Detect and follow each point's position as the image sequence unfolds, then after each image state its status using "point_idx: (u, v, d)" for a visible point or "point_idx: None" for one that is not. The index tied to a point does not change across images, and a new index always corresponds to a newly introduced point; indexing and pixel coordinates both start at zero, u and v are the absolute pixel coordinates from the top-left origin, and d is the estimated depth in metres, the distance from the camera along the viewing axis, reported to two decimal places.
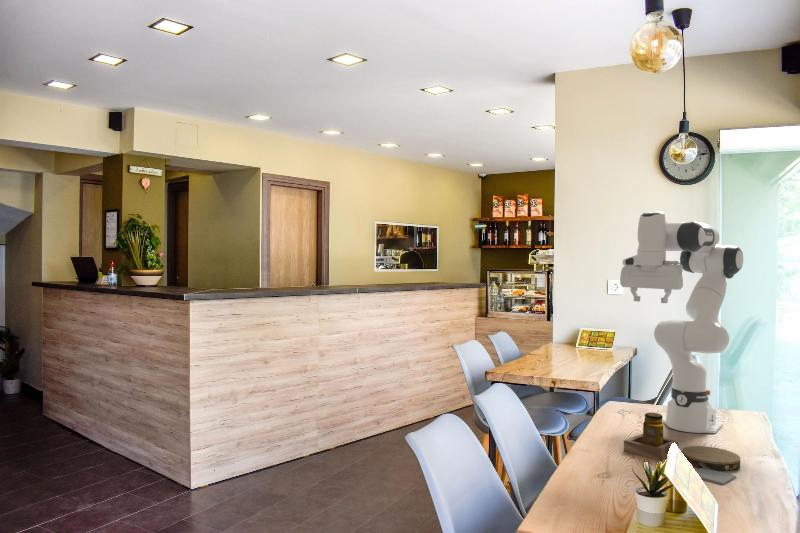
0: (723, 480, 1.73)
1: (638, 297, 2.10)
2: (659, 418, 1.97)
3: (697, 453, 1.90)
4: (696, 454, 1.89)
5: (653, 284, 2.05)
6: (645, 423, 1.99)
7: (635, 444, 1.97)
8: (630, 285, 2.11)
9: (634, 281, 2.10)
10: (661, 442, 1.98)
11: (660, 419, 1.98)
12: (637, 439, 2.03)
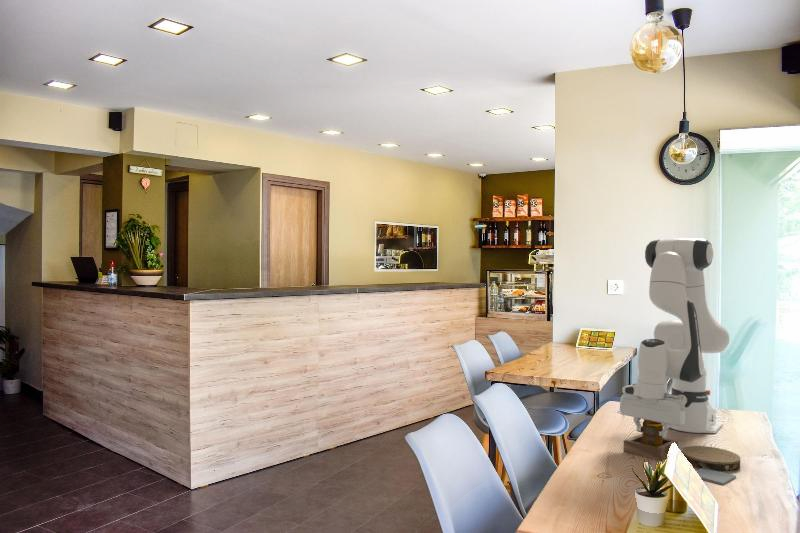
0: (723, 480, 1.73)
1: (641, 428, 2.02)
2: None
3: (697, 453, 1.90)
4: (696, 454, 1.89)
5: (654, 417, 1.97)
6: (644, 423, 1.99)
7: (635, 444, 1.97)
8: (630, 414, 2.03)
9: (634, 410, 2.02)
10: (660, 442, 1.98)
11: None
12: (637, 439, 2.03)
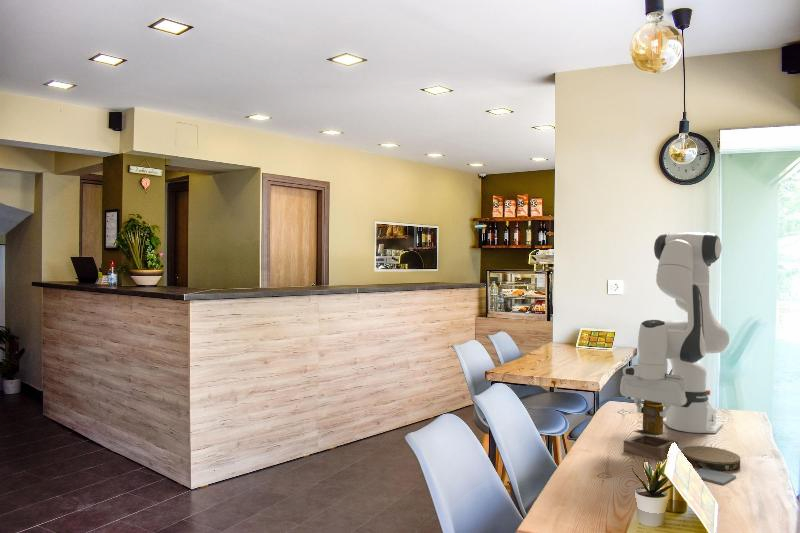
0: (723, 480, 1.73)
1: (642, 408, 2.02)
2: None
3: (697, 453, 1.90)
4: (696, 454, 1.89)
5: (654, 398, 1.97)
6: (645, 404, 2.00)
7: (635, 444, 1.97)
8: (630, 395, 2.03)
9: (635, 391, 2.02)
10: (661, 422, 1.98)
11: None
12: (637, 439, 2.03)
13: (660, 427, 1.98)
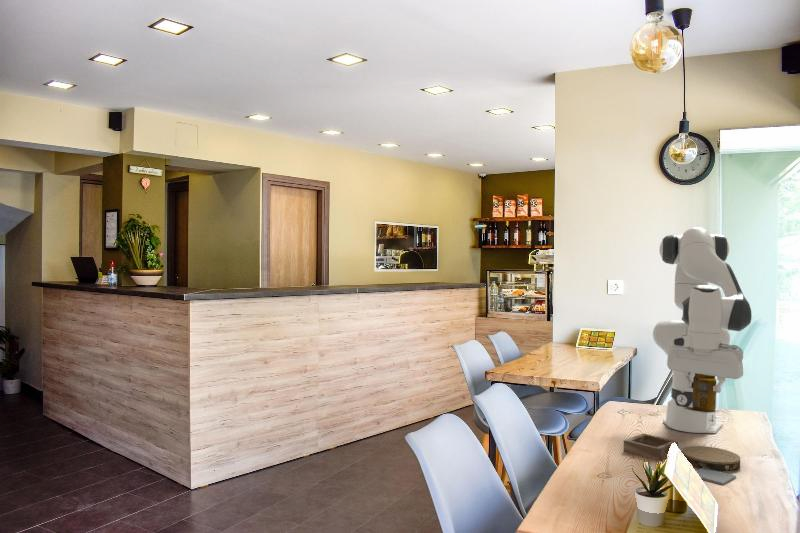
0: (723, 480, 1.73)
1: (692, 383, 1.82)
2: None
3: (697, 453, 1.90)
4: (696, 454, 1.89)
5: (707, 371, 1.77)
6: (696, 377, 1.80)
7: (635, 444, 1.97)
8: (679, 369, 1.83)
9: (684, 364, 1.82)
10: (714, 398, 1.78)
11: None
12: (637, 439, 2.03)
13: (713, 403, 1.78)
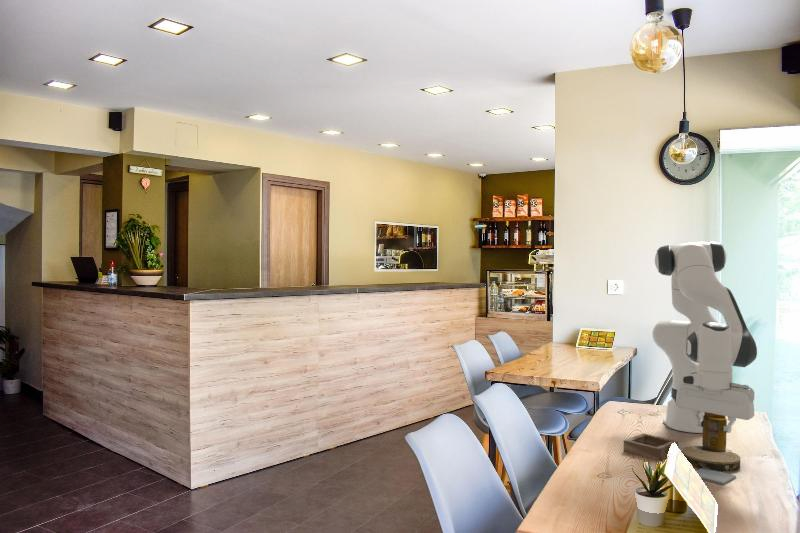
0: (723, 480, 1.73)
1: (702, 422, 1.79)
2: None
3: (697, 453, 1.90)
4: (696, 454, 1.89)
5: (717, 410, 1.74)
6: (706, 416, 1.77)
7: (635, 444, 1.97)
8: (689, 407, 1.80)
9: (694, 403, 1.79)
10: (724, 438, 1.75)
11: None
12: (637, 439, 2.03)
13: (723, 443, 1.75)
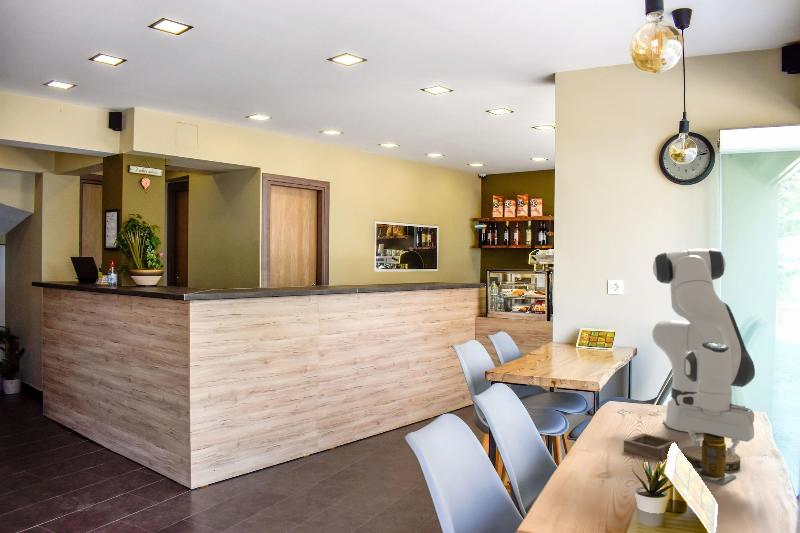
0: (723, 480, 1.73)
1: (698, 441, 1.80)
2: (721, 437, 1.75)
3: (697, 453, 1.90)
4: (696, 454, 1.89)
5: (717, 431, 1.74)
6: (705, 442, 1.77)
7: (635, 444, 1.97)
8: (688, 427, 1.80)
9: (694, 423, 1.79)
10: (723, 464, 1.75)
11: (722, 438, 1.75)
12: (637, 439, 2.03)
13: (722, 469, 1.75)
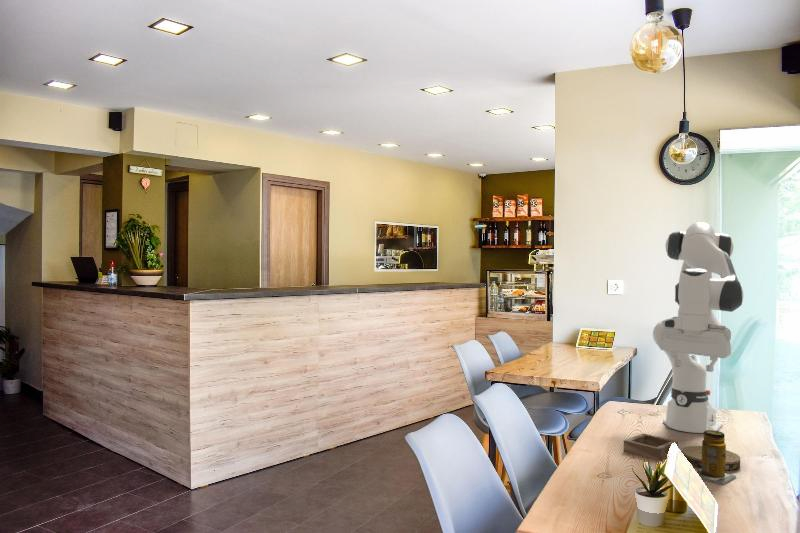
0: (723, 480, 1.73)
1: (679, 362, 1.91)
2: (721, 437, 1.75)
3: (697, 453, 1.90)
4: (696, 454, 1.89)
5: (697, 351, 1.85)
6: (705, 442, 1.77)
7: (635, 444, 1.97)
8: (670, 349, 1.91)
9: (675, 345, 1.90)
10: (723, 464, 1.75)
11: (722, 438, 1.75)
12: (637, 439, 2.03)
13: (722, 469, 1.75)
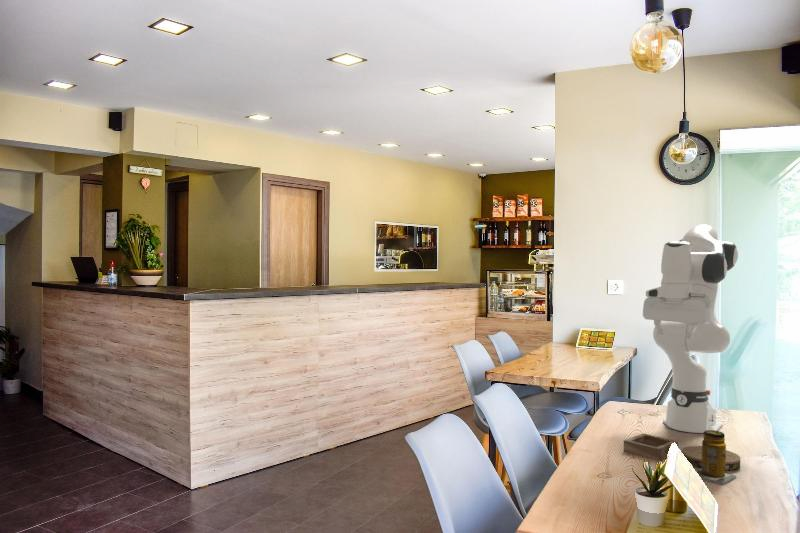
0: (723, 480, 1.73)
1: (662, 330, 2.01)
2: (721, 437, 1.75)
3: (697, 453, 1.90)
4: (696, 454, 1.89)
5: (678, 318, 1.96)
6: (705, 442, 1.77)
7: (635, 444, 1.97)
8: (653, 318, 2.02)
9: (658, 313, 2.01)
10: (723, 464, 1.75)
11: (722, 438, 1.75)
12: (637, 439, 2.03)
13: (722, 469, 1.75)
